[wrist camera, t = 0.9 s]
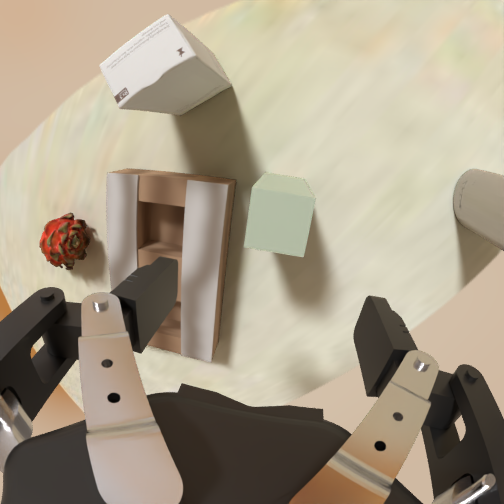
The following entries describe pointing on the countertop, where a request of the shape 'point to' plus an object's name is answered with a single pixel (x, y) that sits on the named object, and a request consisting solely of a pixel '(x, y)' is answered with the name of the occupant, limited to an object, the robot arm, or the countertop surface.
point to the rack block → (174, 247)
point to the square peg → (279, 215)
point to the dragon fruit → (64, 241)
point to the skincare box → (164, 70)
